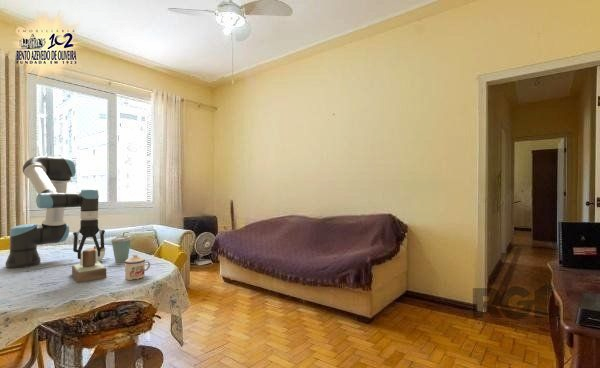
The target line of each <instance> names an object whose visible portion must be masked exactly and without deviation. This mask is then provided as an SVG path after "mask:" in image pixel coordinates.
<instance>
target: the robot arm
mask: <svg viewBox="0 0 600 368" xmlns="http://www.w3.org/2000/svg"><path fill="white" fill-rule="evenodd" d="M22 165H23V166H22V173H23V175H24V176H25V177H26V178H27V179H29V181H30V182H31V184H32V186H33V188H34V189H35V191H36V193H37V195H36V199H35V202H36V206H37V207H38V208H39V209H46V210H45V211H46V212H45V219H44V220H42V222H41V225H38V224H37V223H27V224H20V225H15V226H13V227H12V228H10V231H9V254H8V257H7V259H6V261H5V265H4V266H5V268H6V269H19V268H27V267H32V266H36V265H37V266H38V265H39V264H41V262H42V261H41V257H40V255H39V253H38V246H43V245H50V244H58V243H63V242H65V241H67V239H68V237H69V233H70V226H69V225H70V224H68V223H67V221H66V220H65V219H64V218H65V217H64V216H65V209H66V208H80V228H79V230H78V231H73V233H72V234H73V249H72V251H73V252H74V253H77V260H79V264H80V265H81V266H83V247H84V245H85V242H86V239H87V238H92V239H93V243H94V246H96V248H97V250H95V263H96V264H97V263H98V257H99V256H100V250H101V249H104V248H105V232H106V230H104V229H100V227H99V219H98V218H99V197H100V196H99V190H98V189H95V188H94V189H90V188H89V189H87V188H86V189H81V190H80V192H67V189H68V186H67V185H68V183H69V182H71V179H72V178H73V177H75V176H76V172H77V171H76V164H75V162H74V160H73V159H72V158H70V157H63V156H45V155H37V156H34V157H31V158H29V159H28V160H26V161H25V162H24V164H22ZM98 233H99V235H100V237H99V238H100V244H99V242H98V241H99V240H98V239H97V234H98ZM79 235H81V236H82V237H81V241H80V243H79V246H78V241H79Z"/></svg>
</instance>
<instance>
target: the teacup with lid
mask: <svg viewBox="0 0 600 368" xmlns="http://www.w3.org/2000/svg"><path fill="white" fill-rule="evenodd" d="M124 263H125V264H124V266H125V269H124V272H125V274H124V275H125V280H127V281H133V280H132V279H137V280H140V279H139V278H141V279H143V278H144V277H145V274H146V273H145V272H148V270H149V269H150V268H151V262H150V261H147V260H146V258H144V257H141V256H138V254H133V255H132V256H131V257H128V259H127V260H126V261H125V262H124ZM145 264H148V266H147V267H145ZM145 268H146V269H145ZM142 277H143V278H142Z"/></svg>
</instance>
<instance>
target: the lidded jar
mask: <svg viewBox="0 0 600 368" xmlns="http://www.w3.org/2000/svg"><path fill="white" fill-rule="evenodd" d="M85 250H97V248H96V246H95V245H94V246H93V247H89V248H85V249H84V250H83V251H85ZM105 254H106V247H104V249H101V250H100V256H99V257H98V262H100V263H101V261H102V260H103V259H104V257H105Z"/></svg>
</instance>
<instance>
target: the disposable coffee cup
mask: <svg viewBox="0 0 600 368" xmlns="http://www.w3.org/2000/svg"><path fill="white" fill-rule="evenodd" d="M131 241H132V238H131V236H130V235H122V236H120V235H119V236H115V237H113V238H112V239H111V241H110V242H111V245H112V249H113V256H114V261H115V262H116V263H125V261H126V260H127V259H129V255H130V254H129V253H130V248H131Z"/></svg>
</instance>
